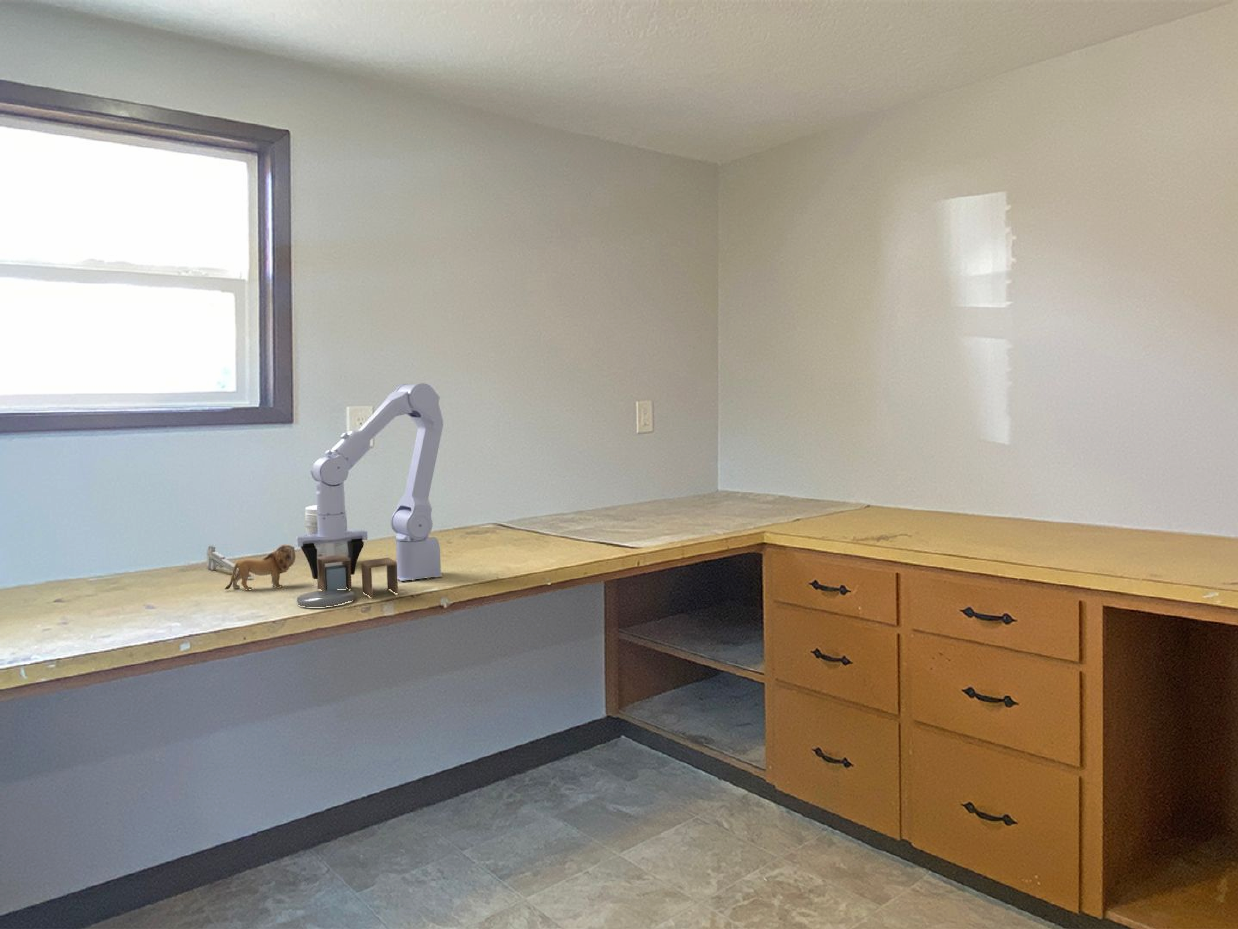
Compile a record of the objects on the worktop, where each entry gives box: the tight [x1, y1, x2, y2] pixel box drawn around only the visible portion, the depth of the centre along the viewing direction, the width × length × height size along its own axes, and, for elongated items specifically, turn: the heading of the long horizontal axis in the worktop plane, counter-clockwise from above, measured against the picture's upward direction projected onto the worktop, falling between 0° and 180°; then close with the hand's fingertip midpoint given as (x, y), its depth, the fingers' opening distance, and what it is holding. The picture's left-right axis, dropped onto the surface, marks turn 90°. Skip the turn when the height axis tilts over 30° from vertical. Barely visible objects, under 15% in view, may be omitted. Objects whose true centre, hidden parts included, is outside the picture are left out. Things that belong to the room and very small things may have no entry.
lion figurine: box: [224, 544, 296, 591], centre depth 185 cm, size 15×5×9 cm, turn 120°
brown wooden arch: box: [316, 554, 353, 590], centre depth 182 cm, size 6×6×7 cm
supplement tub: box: [304, 504, 349, 566], centre depth 208 cm, size 10×10×15 cm
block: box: [325, 565, 347, 590], centre depth 182 cm, size 4×4×5 cm
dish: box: [296, 589, 355, 607], centre depth 172 cm, size 11×11×1 cm
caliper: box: [206, 544, 254, 580], centre depth 200 cm, size 20×1×6 cm, turn 51°
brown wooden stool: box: [360, 557, 399, 597], centre depth 177 cm, size 6×6×7 cm
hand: (333, 576), depth 182 cm, fingers open, 7 cm apart
